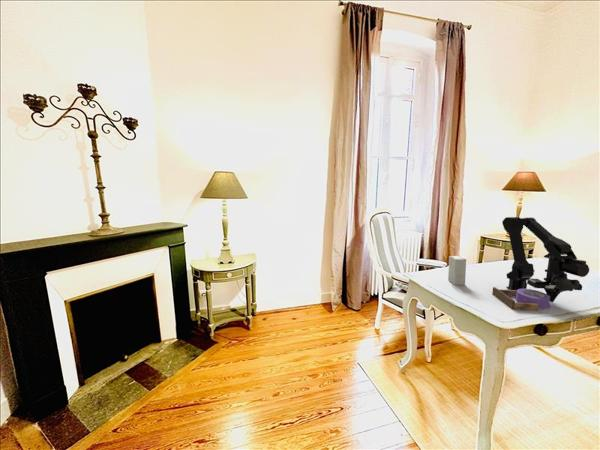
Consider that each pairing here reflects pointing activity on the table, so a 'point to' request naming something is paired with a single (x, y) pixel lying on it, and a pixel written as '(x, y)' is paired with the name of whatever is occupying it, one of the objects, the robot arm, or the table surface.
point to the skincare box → (457, 270)
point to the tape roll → (533, 297)
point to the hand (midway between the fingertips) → (551, 301)
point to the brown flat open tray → (504, 297)
